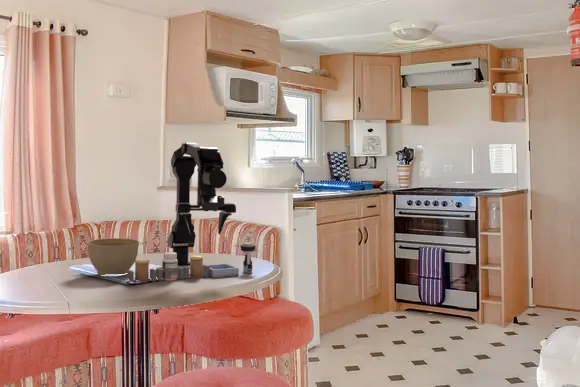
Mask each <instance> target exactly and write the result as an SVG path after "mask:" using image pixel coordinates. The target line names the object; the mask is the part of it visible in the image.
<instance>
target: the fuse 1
mask: <svg viewBox="0 0 580 387" xmlns="http://www.w3.org/2000/svg"><path fill="white" fill-rule="evenodd" d="M134 264H135V266H134V270H135V272H134V280H135V279H136V280H139V281H141V282H142V283H141V284H145V283H149V280H150V269H149V268H150V267H149V266H150V265H149V264H150V259H145V258H141V259H140V258H139V259H136V260H135V262H134Z"/></svg>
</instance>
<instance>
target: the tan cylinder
mask: <svg viewBox="0 0 580 387" xmlns="http://www.w3.org/2000/svg"><path fill="white" fill-rule="evenodd" d="M189 259H190V260H189V262H190V264H189V278H192V279H201V278H203V273H202V272H203V265H204V262H203V261H204V260H203V259H204V256H203V255H191V256H189Z"/></svg>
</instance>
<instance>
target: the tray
mask: <svg viewBox="0 0 580 387" xmlns="http://www.w3.org/2000/svg"><path fill="white" fill-rule="evenodd" d="M207 265H208V266H210V273H209V277H211V278H213V279H215V278H224V277H226V276H227V277H234V276H235V277H237V276H236V275H238V276H239V275H240V273H239V272H240V268H239V267H237V266H234V265H232V264H229V263H217V264H216V263H213V264H207ZM202 274H203V272H202Z"/></svg>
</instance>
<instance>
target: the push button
mask: <svg viewBox="0 0 580 387" xmlns="http://www.w3.org/2000/svg"><path fill="white" fill-rule="evenodd" d="M239 247H240V251H242V253H245V254H244V260H243V262H242V265H243V267H242V273H246V274H251V273H252V272H253V261H252V258H251V256H252V254H251V253H253V252H255V251H256V247H257V246H256V245H254V243H253V242H250V241H249V242H247V241H246V242H242V245H241V244H240V246H239Z"/></svg>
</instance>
